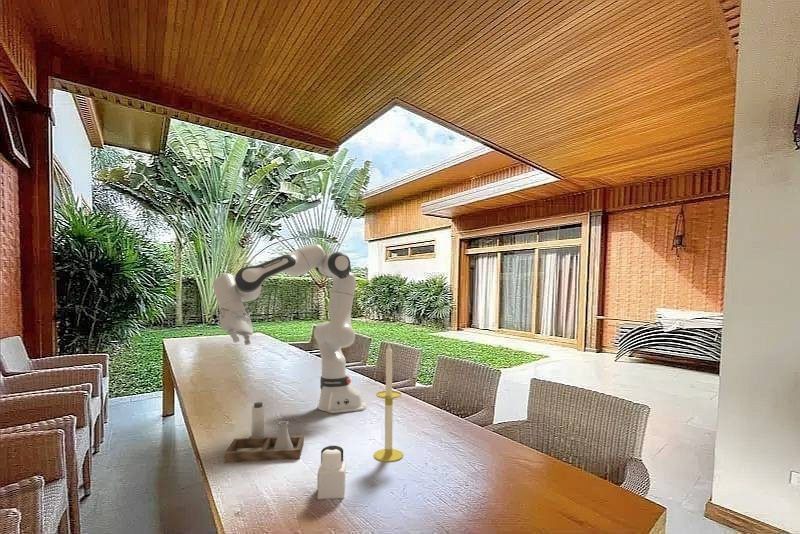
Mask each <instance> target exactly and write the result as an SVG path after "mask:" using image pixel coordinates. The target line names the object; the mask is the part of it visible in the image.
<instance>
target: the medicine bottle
mask: <svg viewBox="0 0 800 534" xmlns="http://www.w3.org/2000/svg"><path fill="white" fill-rule="evenodd" d="M320 453H321V454H320V463H319V465H318V466H319V467H318V470H317V490H316V491H317V495H316V496H317V500H327V499H328V500H332V499H333V500H334V499H344V498H345V493H346V474H347V472H346V469H347V467H346V466H347V465H346V462H347V461H346V460H344V448H342V447H341V446H339V445H328V446H326V447H323V448H322V449H321V452H320Z"/></svg>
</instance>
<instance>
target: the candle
mask: <svg viewBox="0 0 800 534" xmlns="http://www.w3.org/2000/svg"><path fill="white" fill-rule="evenodd" d="M401 396H402V393H401V392H399V391H396V390H393V350H392V348H391V344H388V346H387V348H386V350H385V390H382V391H378V392H376V397H377V398H380V399H384V448H383V449H379V450H376V451H375V452H374V454H373V458H374V460H377V461H380V462H383V463H384V462H385V463H393V462H394V463H395V462H397V461H400V460H402V459H404V458H403V457H404V453H403V451H401V450H399V449H395V448H393V406H394V405H393V399H398V398H401Z"/></svg>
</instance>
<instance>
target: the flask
mask: <svg viewBox="0 0 800 534" xmlns="http://www.w3.org/2000/svg"><path fill="white" fill-rule="evenodd" d="M288 424H289V421H287V420H286V421H279V422H278V426H279V427H278V429H279V430H278V434H277V436H276V437H277V440H276V443H275V446H274V447H273V449H272V450H274V449H295V448H294V446H293V445H292V442H291V440H290V437H289V436H290V435H289V430H288Z"/></svg>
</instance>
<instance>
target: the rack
mask: <svg viewBox="0 0 800 534" xmlns="http://www.w3.org/2000/svg"><path fill="white" fill-rule="evenodd" d="M277 437H278V436H267V437H266V436H265V437H264V436H263V437H262V438H252V437H246V438H245V437H244V438H243V437H242V438H239V437H238V438H234V439H233V440H232V442H231V443H230V444H229V446H228V448H227V449H226V450H225V452H224V453H223V454H224V455H223V458H224V459H223V463H225V464H227V463H229V464H231V463H247V462H248V463H249V462H251V463H252V462H265V461H266V462H267V461H269V462H271V461H284V460H285V461H286V460H288V461H289V460H300V459H301V456H302V451H303V447H304V445H305V443H304V440H305V438H304V437H305V436H304V435H289V437H290V440H291V442H292V445H293V447H296V448H294V449H274V446H275V443H276V440H277ZM271 448H273V449H274V450H273V449H271Z"/></svg>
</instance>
